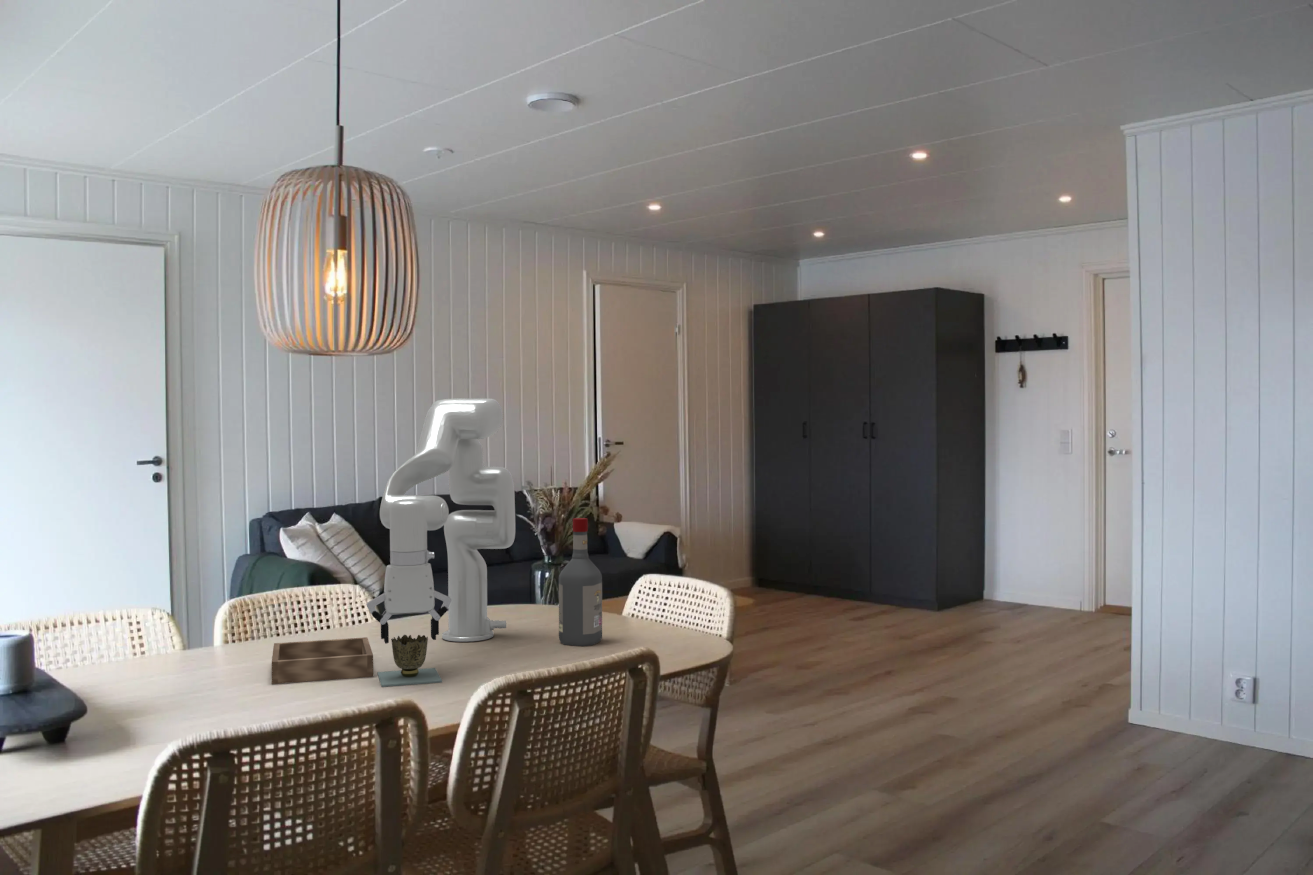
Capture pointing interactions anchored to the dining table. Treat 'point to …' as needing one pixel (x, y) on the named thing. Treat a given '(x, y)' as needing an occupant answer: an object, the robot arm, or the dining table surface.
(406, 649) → the cup
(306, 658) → the walnut box
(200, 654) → the dining table surface
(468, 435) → the robot arm
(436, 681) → the mat
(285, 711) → the dining table surface
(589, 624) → the liquor
